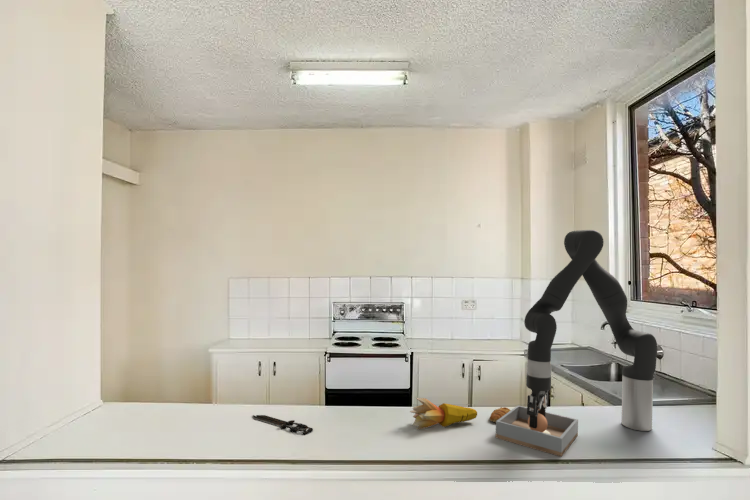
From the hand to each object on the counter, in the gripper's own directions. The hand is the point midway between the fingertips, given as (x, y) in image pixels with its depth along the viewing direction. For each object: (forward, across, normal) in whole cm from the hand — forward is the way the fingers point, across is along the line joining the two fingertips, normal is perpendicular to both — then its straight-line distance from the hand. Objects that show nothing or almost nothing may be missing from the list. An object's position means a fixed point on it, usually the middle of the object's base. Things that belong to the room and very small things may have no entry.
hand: (537, 423), depth 141 cm
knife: (+5, -49, +69) cm, 85 cm away
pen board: (+4, 0, 0) cm, 4 cm away
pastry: (+5, +6, +14) cm, 17 cm away
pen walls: (+3, 0, 0) cm, 3 cm away
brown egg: (0, 0, 0) cm, 0 cm away
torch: (+4, -13, +27) cm, 30 cm away
